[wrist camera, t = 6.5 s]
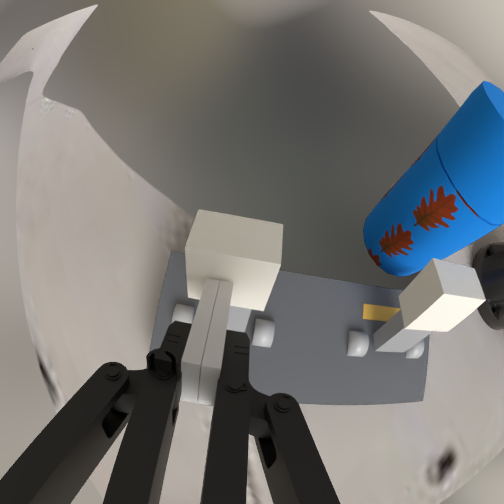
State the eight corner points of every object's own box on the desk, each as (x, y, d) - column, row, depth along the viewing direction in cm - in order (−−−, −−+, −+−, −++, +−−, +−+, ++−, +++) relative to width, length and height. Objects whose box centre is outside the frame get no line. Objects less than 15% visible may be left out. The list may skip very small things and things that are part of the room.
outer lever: (254, 313, 25) (283, 224, 17) (250, 344, 23) (281, 264, 15) (198, 303, 25) (198, 209, 16) (190, 333, 23) (184, 247, 14)
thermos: (346, 228, 36) (467, 83, 12) (391, 194, 39) (491, 76, 15) (396, 293, 33) (558, 207, 10) (434, 250, 36) (558, 162, 13)
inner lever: (406, 331, 25) (474, 268, 17) (410, 358, 23) (485, 300, 15) (366, 328, 25) (432, 257, 17) (368, 356, 23) (444, 293, 15)
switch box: (402, 304, 33) (436, 292, 26) (394, 396, 28) (429, 401, 22) (180, 268, 32) (169, 245, 25) (159, 373, 27) (141, 378, 21)
